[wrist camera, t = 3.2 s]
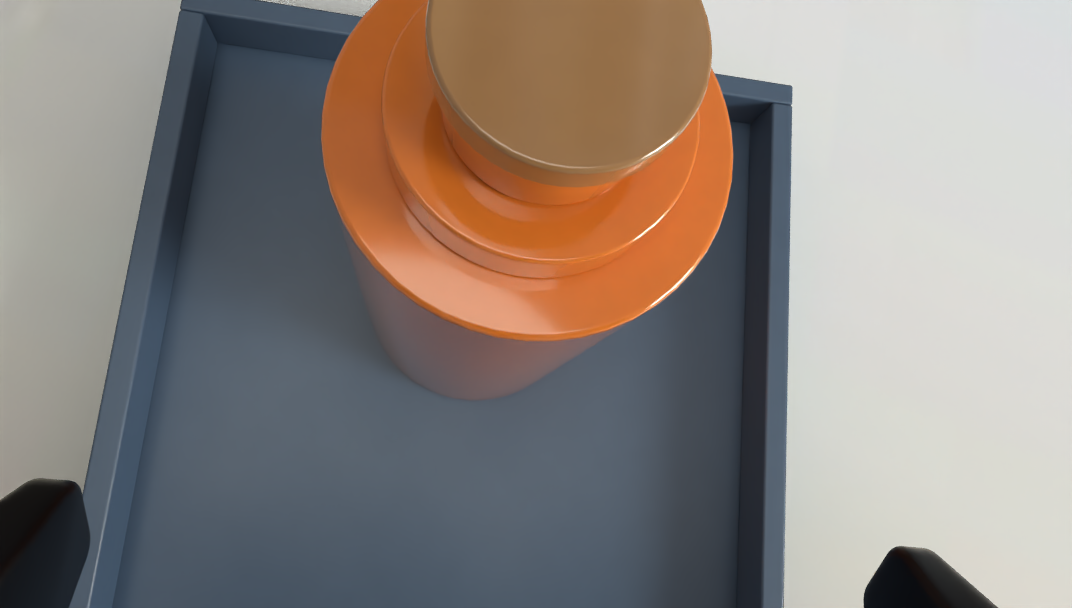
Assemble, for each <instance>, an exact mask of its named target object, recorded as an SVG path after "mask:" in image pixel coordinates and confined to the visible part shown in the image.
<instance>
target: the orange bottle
mask: <svg viewBox="0 0 1072 608" xmlns="http://www.w3.org/2000/svg"><path fill="white" fill-rule="evenodd" d="M711 61H712V45H711V33H710V28H709V24H708V19H707V15H706V12H705V10H704V7H703V4H702V1H701V0H378V1H377V2H376V3H375V4H374V5H373V6H372V8H371V9H370V10H369V11H368V12H367V13H366V14H365V15H364V16H363V17H362V18H361V19H360V21H359V22H358V24H357V25H356V27H355V28H354V29H353V31H352V32H351V34H350V35H349V37H348V38H347V39H346V41H345V43H344V45H343V47H342V49H341V51H340V53H339V55H338V57H337V59H336V61H335V63H334V66H333V69H332V72H331V75H330V78H329V81H328V84H327V87H326V91H325V97H324V103H323V108H322V114H321V148H322V157H323V166H324V170H325V174H326V178H327V182H328V186H329V190H330V194H331V197H332V200H333V203H334V206H335V210H336V213H337V216H338V219H339V222H340V226H341V229H342V232H343V235H344V238H345V241H346V245H347V248H348V251H349V254H350V257H351V261H352V264H353V267H354V270H355V273H356V276H357V280H358V283H359V286H360V289H361V292H362V296H363V299H364V302H365V305H366V308H367V312H368V315H369V318H370V321H371V324H372V327H373V330H374V332H375V335H376V337H377V340H378V342H379V343H380V345H381V347H382V348H383V350H384V352H385V353H386V355H387V356H388V357H389V359H390V360H391V361H392V362H393V364H394V365H395V366H396V367H397V368H398V369H399V370H400V371H401V372H402V373H403V374H405V375H406V376H407V377H408V378H410V379H411V380H412V381H414V382H415V383H417V384H419V385H420V386H422V387H424V388H426V389H427V390H430V391H432V392H435V393H437V394H440V395H443V396H447V397H450V398H454V399H462V400H489V399H496V398H500V397H504V396H507V395H511V394H513V393H516V392H518V391H520V390H523V389H525V388H526V387H528V386H530V385H531V384H533V383H535V382H536V381H538V380H540V379H541V378H543V377H544V376H546V375H548V374H549V373H551V372H552V371H554V370H556V369H557V368H559V367H560V366H562V365H563V364H565V363H567V362H568V361H570V360H571V359H573V358H575V357H576V356H578V355H579V354H581V353H583V352H584V351H586V350H587V349H589V348H590V347H592V346H594V345H595V344H597V343H598V342H600V341H602V340H603V339H605V338H606V337H608V336H610V335H611V334H613V333H614V332H616V331H617V330H619V329H621V328H622V327H624V326H625V325H627V324H629V323H630V322H632V321H633V320H635V319H637V318H638V317H640V316H641V315H643V314H644V313H646V312H648V311H649V310H651V309H652V308H654V307H656V306H657V305H658V304H659V303H661V302H662V301H663V300H664V299H666V298H667V297H668V296H669V295H671V294H672V293H673V292H674V291H675V290H677V288H678V287H679V286H680V285H681V284H682V283H683V282H684V281H685V280H686V279H687V278H688V277H689V276H690V275H691V273H692V272H693V271H694V270H695V268H696V267H697V266H698V264H699V263H700V261H701V260H702V258H703V257H704V256H705V254H706V253H707V251H708V249H709V248H710V246H711V244H712V242H713V240H714V238H715V236H716V234H717V232H718V230H719V227H720V225H721V222H722V219H723V216H724V213H725V210H726V207H727V203H728V198H729V193H730V188H731V183H732V170H733V144H732V131H731V125H730V120H729V116H728V111H727V106H726V103H725V100H724V97H723V94H722V91H721V88H720V85H719V83H718V80H717V78H716V76H715V74H714V72H713V70H712V68H711Z"/></svg>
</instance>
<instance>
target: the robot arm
mask: <svg viewBox="0 0 1072 608" xmlns="http://www.w3.org/2000/svg"><path fill="white" fill-rule="evenodd" d="M90 536H91V535H90V529H89V524H88V519H87V515H86V510H85V505H84V501H83V496H82V492H81V489H80V487H79V485H78V484H77V483H76V482H73V481H70V480H57V479H45V478H37V479H33V480H31V481H28V482H26V483H25V484H23V485H21V486H20V487H19V488H17V489H16V490H14V491H13V492H11V493H10V494H9V495H7V496H6V497H4V498H3V499H1V500H0V608H69V606H70V603H71V601H72V598H73V595H74V592H75V590H76V587H77V584H78V581H79V578H80V576H81V573H82V570H83V567H84V565H85V562H86V559H87V556H88V552H89V548H90ZM864 608H998V607H997V606H995V605H994V604H993V603H992V602H991V601H990V600H989V599H987V598H986V597H985V596H984V595H983V594H982V593H980V592H979V591H978V590H977V589H976V588H975V587H974V586H972V585H971V584H970V583H969V582H968V581H967V580H966V579H964V578H963V577H962V576H961V575H960V574H959V573H958V572H956V571H955V570H954V569H953V568H952V567H951V566H950V565H948V564H947V563H946V562H945V561H944V560H943V559H942V558H940V557H939V556H938V555H937V554H935V553H934V552H933V551H931V550H928V549H925V548H916V547H904V546H898V547H895V548H893V549H891V550H890V551H889V552H888V554H887V555H886V557H885V558H884V560H883V562H882V563H881V565H880V566H879V568H878V569H877V571H876V573H875V574H874V576H873V577H872V579H871V580H870V582H869V583H868V585H867V587H866V589H865V593H864Z"/></svg>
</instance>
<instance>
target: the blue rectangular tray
mask: <svg viewBox="0 0 1072 608" xmlns="http://www.w3.org/2000/svg"><path fill="white" fill-rule="evenodd" d="M180 8H181V11H180V12H179V16H178V21H177V26H176V31H175V36H174V41H173V46H172V51H171V56H170V61H169V66H168V71H167V76H166V81H165V86H164V91H163V96H162V101H161V106H160V111H159V116H158V121H157V126H156V131H155V136H154V141H153V146H152V151H151V156H150V161H149V166H148V171H147V176H146V181H145V186H144V191H143V196H142V201H141V206H140V211H139V216H138V221H137V226H136V231H135V236H134V241H133V246H132V251H131V256H130V261H129V266H128V270H127V275H126V280H125V285H124V290H123V295H122V300H121V305H120V310H119V315H118V320H117V325H116V330H115V335H114V340H113V345H112V350H111V355H110V360H109V365H108V370H107V375H106V380H105V385H104V390H103V395H102V400H101V405H100V410H99V415H98V420H97V425H96V430H95V435H94V440H93V445H92V450H91V455H90V460H89V465H88V470H87V475H86V480H85V485H84V490H83V495H82V496H83V501H84V505H85V510H86V515H87V519H88V524H89V529H90V535H91V536H90V548H89V552H88V556H87V559H86V562H85V565H84V567H83V570H82V573H81V576H80V578H79V581H78V584H77V587H76V590H75V592H74V595H73V598H72V601H71V603H70V606H69V608H784V549H785V491H786V432H787V373H788V315H789V256H790V197H791V138H792V106H791V105H792V86H790V85H783V84H777V83H771V82H765V81H758V80H752V79H746V78H740V77H733V76H727V75H721V74H715V73H714V74H715V76H716V78H717V80H718V83H719V85H720V88H721V91H722V94H723V97H724V100H725V103H726V106H727V111H728V116H729V120H730V125H731V131H732V144H733V170H732V183H731V188H730V193H729V198H728V203H727V207H726V210H725V213H724V216H723V219H722V222H721V225H720V227H719V230H718V232H717V234H716V236H715V238H714V240H713V242H712V244H711V246H710V248H709V249H708V251H707V253H706V254H705V256H704V257H703V258H702V260H701V261H700V263H699V264H698V266H697V267H696V268H695V270H694V271H693V272H692V273H691V275H690V276H689V277H688V278H687V279H686V280H685V281H684V282H683V283H682V284H681V285H680V286H679V287H678V288H677V290H675V291H674V292H673V293H672V294H671V295H669V296H668V297H667V298H666V299H664V300H663V301H662V302H661V303H659V304H658V305H657V306H656V307H654V308H652V309H651V310H649V311H648V312H646V313H644V314H643V315H641V316H640V317H638V318H637V319H635V320H633V321H632V322H630V323H629V324H627V325H625V326H624V327H622V328H621V329H619V330H617V331H616V332H614V333H613V334H611V335H610V336H608V337H606V338H605V339H603V340H602V341H600V342H598V343H597V344H595V345H594V346H592V347H590V348H589V349H587V350H586V351H584V352H583V353H581V354H579V355H578V356H576V357H575V358H573V359H571V360H570V361H568V362H567V363H565V364H563V365H562V366H560V367H559V368H557V369H556V370H554V371H552V372H551V373H549V374H548V375H546V376H544V377H543V378H541V379H540V380H538V381H536V382H535V383H533V384H531V385H530V386H528V387H526V388H525V389H523V390H520V391H518V392H516V393H513V394H511V395H507V396H504V397H500V398H496V399H489V400H462V399H454V398H450V397H447V396H443V395H440V394H437V393H435V392H432V391H430V390H427V389H426V388H424V387H422V386H420V385H419V384H417V383H415V382H414V381H412V380H411V379H410V378H408V377H407V376H406V375H405V374H403V373H402V372H401V371H400V370H399V369H398V368H397V367H396V366H395V365H394V364H393V362H392V361H391V360H390V359H389V357H388V356H387V355H386V353H385V352H384V350H383V348H382V347H381V345H380V343H379V342H378V340H377V337H376V335H375V332H374V330H373V327H372V324H371V321H370V318H369V315H368V312H367V308H366V305H365V302H364V299H363V296H362V292H361V289H360V286H359V283H358V280H357V276H356V273H355V270H354V267H353V264H352V261H351V257H350V254H349V251H348V248H347V245H346V241H345V238H344V235H343V232H342V229H341V226H340V222H339V219H338V216H337V213H336V210H335V206H334V203H333V200H332V197H331V194H330V190H329V186H328V182H327V178H326V174H325V170H324V166H323V157H322V148H321V114H322V108H323V103H324V97H325V91H326V87H327V84H328V81H329V78H330V75H331V72H332V69H333V66H334V63H335V61H336V59H337V57H338V55H339V53H340V51H341V49H342V47H343V45H344V43H345V41H346V39H347V38H348V37H349V35H350V34H351V32H352V31H353V29H354V28H355V27H356V25H357V24H358V22H359V21H360V19H361V18H362V17H359V16H353V15H347V14H340V13H334V12H328V11H322V10H315V9H309V8H303V7H297V6H290V5H284V4H278V3H272V2H266V1H259V0H182V1H181V6H180Z"/></svg>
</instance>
